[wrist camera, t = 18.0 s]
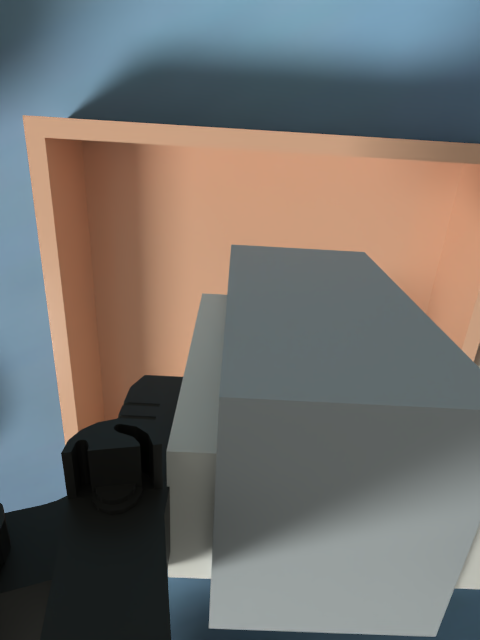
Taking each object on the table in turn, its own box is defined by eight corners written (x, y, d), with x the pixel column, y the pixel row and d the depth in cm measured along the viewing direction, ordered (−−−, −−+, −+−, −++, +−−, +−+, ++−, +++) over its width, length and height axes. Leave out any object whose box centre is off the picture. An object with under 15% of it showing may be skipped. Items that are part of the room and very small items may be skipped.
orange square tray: (397, 464, 32) (423, 521, 27) (98, 451, 31) (73, 506, 26) (479, 144, 23) (540, 147, 18) (67, 118, 22) (22, 115, 18)
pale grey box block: (340, 387, 15) (435, 636, 8) (224, 382, 15) (209, 628, 8) (364, 251, 13) (522, 411, 6) (231, 244, 13) (219, 397, 6)
